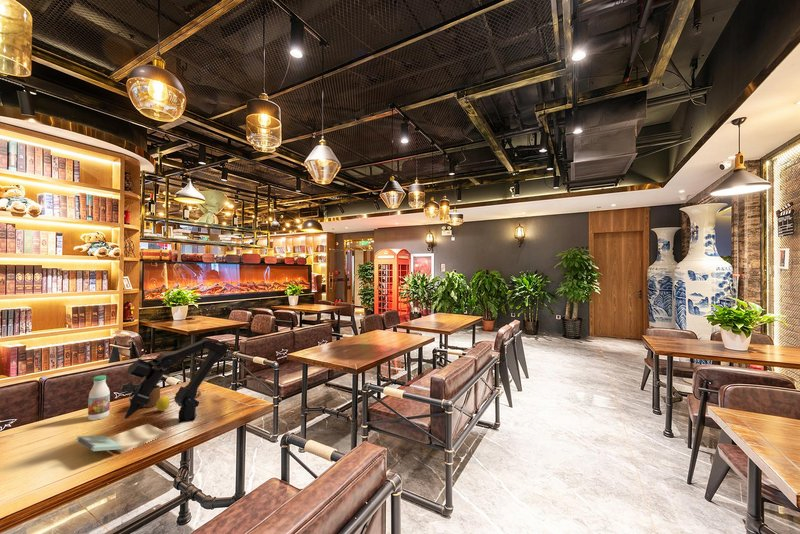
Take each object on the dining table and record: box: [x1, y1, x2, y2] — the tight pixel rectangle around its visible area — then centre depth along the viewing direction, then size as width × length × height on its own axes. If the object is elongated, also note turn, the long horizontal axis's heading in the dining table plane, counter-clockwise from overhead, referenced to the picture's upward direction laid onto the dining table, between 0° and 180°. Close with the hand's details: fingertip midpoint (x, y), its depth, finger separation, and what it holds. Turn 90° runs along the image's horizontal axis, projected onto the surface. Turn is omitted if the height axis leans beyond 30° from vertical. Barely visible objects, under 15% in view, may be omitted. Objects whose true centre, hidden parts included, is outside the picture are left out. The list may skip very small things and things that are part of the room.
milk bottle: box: [87, 374, 111, 421], centre depth 156 cm, size 8×8×20 cm
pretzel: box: [195, 388, 202, 399], centre depth 183 cm, size 12×11×4 cm
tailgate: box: [75, 435, 122, 452], centre depth 126 cm, size 2×16×9 cm
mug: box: [142, 384, 161, 408], centre depth 169 cm, size 12×8×9 cm, turn 154°
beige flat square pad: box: [108, 423, 167, 454], centre depth 137 cm, size 16×16×2 cm
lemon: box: [155, 395, 171, 412], centre depth 164 cm, size 6×6×8 cm
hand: (125, 418), depth 134 cm, fingers closed
